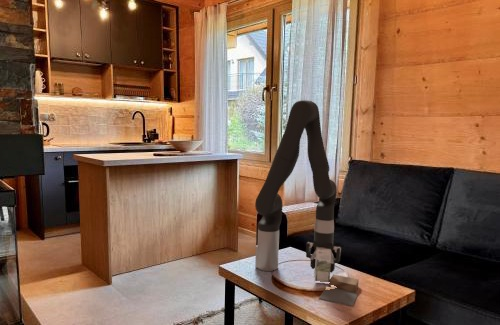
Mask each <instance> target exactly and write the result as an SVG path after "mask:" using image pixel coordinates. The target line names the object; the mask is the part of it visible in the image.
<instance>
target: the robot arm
mask: <svg viewBox="0 0 500 325" xmlns="http://www.w3.org/2000/svg"><path fill="white" fill-rule="evenodd" d="M320 118H321V117H320V110H319V106H318V104H317V103H315V101H312V100H307V99H306V100H305V99H301V100H298V101H296V102H294V104H292V107H291V108H290V111H289V114H288V119H287V121H286V122H287V123H286V126H285V129H284V132H283V135H282V137H281V140H280V141H279V143H278V144H279V145H278V147H277V149H276V152H275V154H274V157H273V160H272V162H271V165H270V168H269V171H268V172H267V176H266V178H265V180H264V182H263V185H262V187H261V189H260V191H259V193H258V195H257V197H256V199H255V202H254V203H255V204H254V206H255V210H256V212H257V213H258V214H259V215H260V216H262V217H261V219H260V220H259V222H258V224H257V245H256V246H255V264H254V265H255V267H254V268H256V269H258V270H260V271H265V272H274V271H276V270H278V269H277V268H279V248H280V247H279V246H280V245H279V244H280V225H281V223H282V216H283V200H282V197H281V195H280V194H279V191H280V189H281V187H282V186H283V184H285V182H286V181H287V180H288V178H289V177H290V176H291V175H292V173H293V171H294V169H295V167H296V164H297V162H298V159H299V156H300V145H301V139H302V135H303V133H304V130H305V133H306V137H307V138H306V139H307V157H308V161H309V164H310V165H309V166H310V169H311V172H312V183H313V190H314V192H315V194H316V197H318V203H317V205H316V208H315V220H314V229H313V230H314V233H313V234H314V235H313V236H314V237H313V242H310V241H307V242H306V243H305V257H306V258H308V259H310V263H309V264H310V268H311V269H313V270H315V256H316V251H315V250H316V246H317V247H318V248H321V247H323V248H324V249H331V266H330V274H331V273H333V272H334V271H335V268H336V267H335V266H336V264H338V263H340V261H341V256H342V253H341V252H342V247H341V246H335V245H334V236H335V235H334V233H335V232H334V231H335V222H334V220H335V218H334V217H335V204H336V199H337V191H338V190H337V185H336V183H335V182H334V180H332V179H330V175H329V174H330V173H329V172H330V165H329V161H328V156H327V153H326V150H325V146H324V145H325V144H324V139H323V135H322V134H323V133H322V128H321V119H320ZM312 247H313V249H314V252H313V253H312V252H311V251H312ZM332 251H334V252H335V253H336V255H335V257H334V254H333V252H332ZM311 253H312V254H311ZM275 269H276V270H275ZM273 270H274V271H273Z"/></svg>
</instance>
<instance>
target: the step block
mask: <svg viewBox="0 0 500 325" xmlns="http://www.w3.org/2000/svg"><path fill="white" fill-rule="evenodd" d="M359 280H360V279H358V278H354V277H349V276H344V275H339V274H334V273H333V274H332V275H331V276H330V283H329V284H330V285H334V286H336V287H337V289H342V290H347V291H351V292H356V293H357V291H358V288H359ZM329 284H328V285H329Z"/></svg>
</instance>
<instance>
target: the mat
mask: <svg viewBox="0 0 500 325" xmlns="http://www.w3.org/2000/svg"><path fill="white" fill-rule="evenodd" d="M358 296H359V292H357V291H356V292H351V291H347V290H342V289H337V288H335V289H330V290H324V289H323V291H322V293H321V294H320V296H319V297H318V299H319V300H321V301H327V302H331V303H335V304H340V305H344V306H348V307H354V304H355V302H356V300H357V298H358Z"/></svg>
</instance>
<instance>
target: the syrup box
mask: <svg viewBox="0 0 500 325" xmlns="http://www.w3.org/2000/svg"><path fill="white" fill-rule="evenodd" d="M315 251H316V256H315V268H314V270H313V272H314V277H315V279H314V282H315V281H320V282H330V279H331V272H330V266H331V252H332V251H331V249H324V248H323V247H321V248H318V247H317V246H316V250H315V249H314V252H315ZM314 277H313V278H314Z"/></svg>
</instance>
